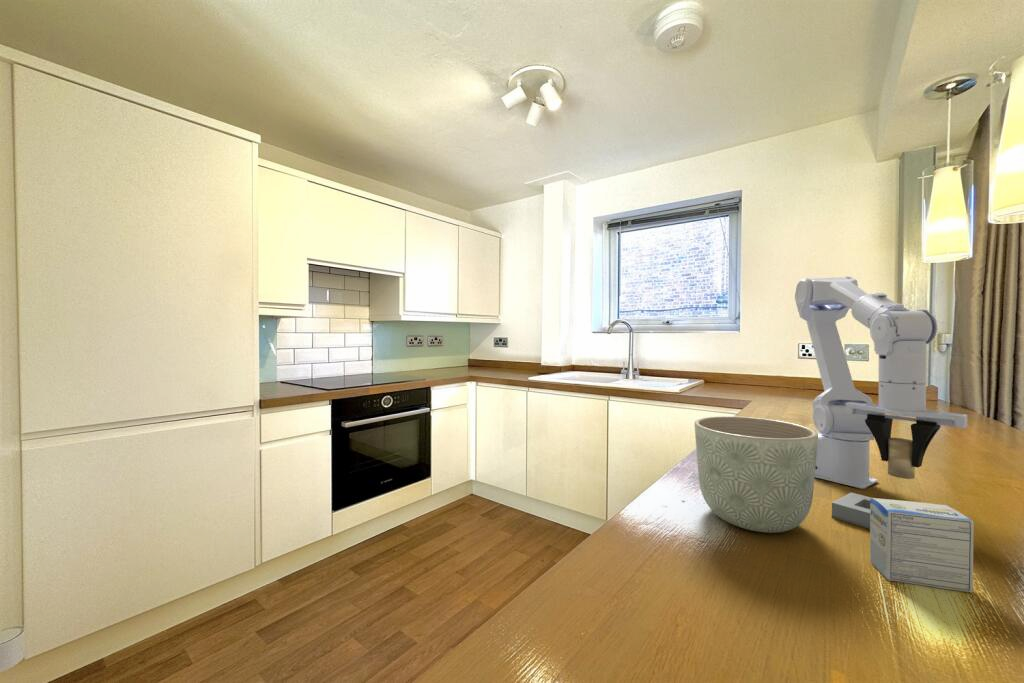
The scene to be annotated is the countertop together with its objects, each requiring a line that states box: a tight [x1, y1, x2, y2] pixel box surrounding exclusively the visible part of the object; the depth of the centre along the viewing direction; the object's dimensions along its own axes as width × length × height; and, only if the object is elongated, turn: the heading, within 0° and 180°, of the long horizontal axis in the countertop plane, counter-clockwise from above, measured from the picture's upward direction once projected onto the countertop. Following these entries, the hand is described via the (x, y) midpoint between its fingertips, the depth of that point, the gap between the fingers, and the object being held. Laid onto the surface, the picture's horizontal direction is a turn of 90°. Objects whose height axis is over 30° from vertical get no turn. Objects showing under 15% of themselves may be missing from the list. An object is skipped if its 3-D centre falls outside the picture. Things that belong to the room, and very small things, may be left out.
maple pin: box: [887, 437, 916, 480], centre depth 67 cm, size 3×3×6 cm
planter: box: [694, 415, 819, 534], centre depth 64 cm, size 17×17×15 cm
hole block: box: [831, 492, 873, 530], centre depth 64 cm, size 9×8×2 cm
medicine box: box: [869, 497, 975, 593], centre depth 49 cm, size 8×4×9 cm, turn 71°
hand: (901, 463), depth 67 cm, fingers closed on maple pin, 3 cm apart
